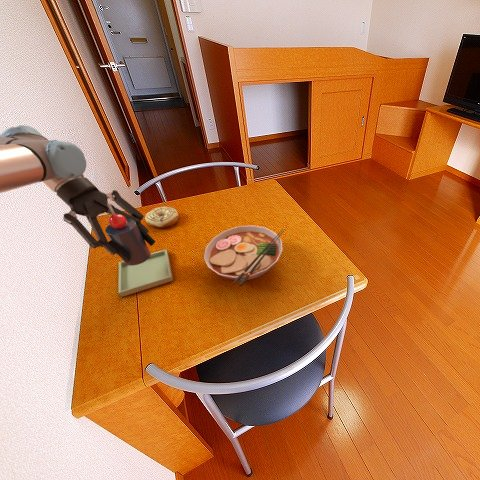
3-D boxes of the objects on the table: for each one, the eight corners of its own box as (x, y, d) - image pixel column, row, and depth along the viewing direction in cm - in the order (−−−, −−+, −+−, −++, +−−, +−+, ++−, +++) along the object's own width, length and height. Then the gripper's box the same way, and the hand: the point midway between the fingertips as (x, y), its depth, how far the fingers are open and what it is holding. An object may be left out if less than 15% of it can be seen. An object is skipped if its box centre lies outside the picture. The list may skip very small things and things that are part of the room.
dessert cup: (118, 264, 76) (84, 210, 64) (133, 248, 81) (103, 194, 69) (142, 266, 76) (112, 212, 64) (155, 249, 81) (130, 196, 69)
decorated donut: (163, 233, 97) (159, 224, 95) (141, 224, 100) (137, 216, 98) (185, 217, 104) (182, 209, 102) (164, 210, 108) (161, 202, 105)
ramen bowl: (241, 233, 99) (237, 214, 93) (298, 252, 92) (297, 233, 87) (190, 281, 81) (181, 261, 76) (256, 308, 74) (252, 289, 69)
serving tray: (121, 297, 76) (118, 292, 75) (121, 266, 84) (118, 262, 83) (172, 280, 81) (171, 276, 80) (168, 253, 90) (166, 249, 88)
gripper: (106, 175, 79) (166, 236, 84) (25, 210, 65) (104, 279, 71) (110, 162, 74) (174, 227, 79) (24, 196, 60) (109, 272, 66)
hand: (141, 251), depth 75 cm, fingers closed on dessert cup, 7 cm apart
